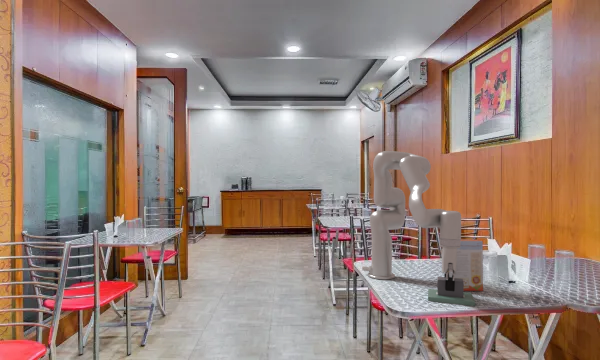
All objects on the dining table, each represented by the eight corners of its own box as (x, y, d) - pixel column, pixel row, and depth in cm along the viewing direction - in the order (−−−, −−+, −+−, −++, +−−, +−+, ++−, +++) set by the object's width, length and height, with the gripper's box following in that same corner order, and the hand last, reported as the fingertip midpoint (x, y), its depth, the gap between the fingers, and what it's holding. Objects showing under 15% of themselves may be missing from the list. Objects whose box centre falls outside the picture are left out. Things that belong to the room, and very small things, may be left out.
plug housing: (437, 295, 139) (437, 279, 139) (437, 291, 144) (437, 276, 144) (463, 298, 136) (463, 281, 136) (462, 294, 141) (462, 278, 141)
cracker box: (476, 287, 157) (476, 238, 157) (483, 291, 151) (483, 240, 151) (443, 287, 157) (444, 238, 157) (449, 291, 151) (449, 240, 151)
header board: (428, 300, 137) (428, 286, 137) (428, 292, 148) (428, 278, 148) (475, 306, 132) (475, 290, 132) (471, 296, 143) (471, 282, 143)
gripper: (439, 239, 150) (438, 280, 150) (440, 245, 134) (439, 292, 134) (458, 240, 148) (458, 282, 147) (462, 247, 131) (461, 295, 131)
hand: (449, 287), depth 141 cm, fingers open, 9 cm apart
